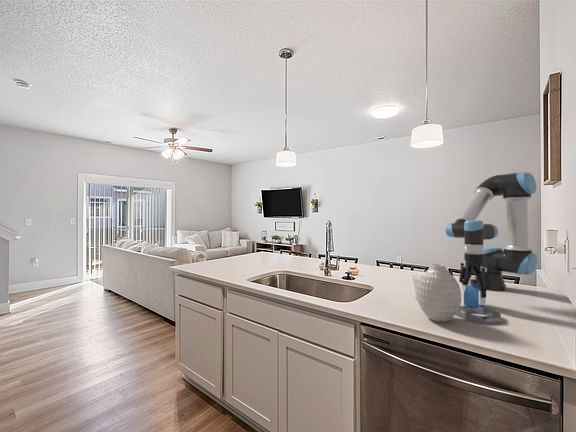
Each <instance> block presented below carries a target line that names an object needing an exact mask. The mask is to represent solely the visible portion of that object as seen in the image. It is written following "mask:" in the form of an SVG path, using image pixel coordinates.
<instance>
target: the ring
mask: <svg viewBox="0 0 576 432" xmlns="http://www.w3.org/2000/svg"><path fill="white" fill-rule="evenodd" d="M472 313H474V314H472ZM477 314H480V315H477ZM482 315H485V316H482ZM454 316H455V317H456V316H457V317H459V318H460V319H462V320H465V321H467V322H468V321H469V322H473V323H478V324H484V325H495V324H502V316H501V313H500V312H499V311H496V310H492V309H490V308H489V307H484V306H483V307H476V306H470V305H469V306H466V305H460V307H459V310H458V311H457V313H456V314H455V315H454Z"/></svg>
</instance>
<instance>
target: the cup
mask: <svg viewBox="0 0 576 432" xmlns="http://www.w3.org/2000/svg"><path fill="white" fill-rule="evenodd" d="M422 275H423V274H411V275H410V276H409V278H410V283H411V289H412V293H413V294H412V295H413V297H414V299H415V300H417V296H416V288H417V283H418V281H419V279H420V277H421V276H422Z"/></svg>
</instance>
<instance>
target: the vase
mask: <svg viewBox="0 0 576 432" xmlns="http://www.w3.org/2000/svg"><path fill="white" fill-rule="evenodd" d="M421 275H422V276H421V277H420V279H419V281H418V283H417V288H416V296H417V299H416V300H417V304H418V306H419V307H420V310H421V311H422V312H423V313H424V315H425V316H426V317H427V318H428V319H429V320H431V321H433V322H437V323H447V322H448V321H450V320H451V319H453V318H454V316H456V315H455V314H456V313H457V311H458V310H459V307H460V306H461V303H462V292H461V287H460V284H459V283H458V282H459V281H457V279H456V277H454V275H453V274H452V273H451V272H450V271H449V270H448V269H447V268H446V266H445V265H444V264H440V263H433V264H432V263H431V264H430V267H429V268H427V270H426V271H424V272H423V274H421Z"/></svg>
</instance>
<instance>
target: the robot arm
mask: <svg viewBox="0 0 576 432" xmlns="http://www.w3.org/2000/svg"><path fill="white" fill-rule="evenodd" d="M536 191H537V183H536V180H535V177H534V176H533V174H532V173H530V172H527V171H525V172H523V171H522V172H514V173H505V174H497V175H492V176H490V177H488V178H486V179H485V180H484V181H482V183H480V184H478V186H476V188H475V190H474V191H473V194H474V195H473V196H472V197H471V199H470V200H469V201H468V203H467V204H466V206H465V207H464V209H463V210H462V211H461V212H460V214H459V215H458V217H457V219H456V220H455V221H454V222H451V223H447V224H446V226H445V229H444V230H445V231H444V232H445V235H446V236H447V237H449V238H456V239H457V238H458V239H463V240H464V244H463V245H464V249H463V251H464V252H465V253H463V254H464V255H463V259H464V261H465V262H461V263H460V272H459V280H458V282H459V283H461V284H462V291H463V298H464V291H465V289H466V288H467V287H468V286H470V279H472V278H471V277H472V276H473V275H474V276H475V279H476V280H477V281H478V287H480V289H479V305H484V306H485V305H486V298H487V291H496V292H497V291H498V292H500V291H501V292H502V291H506V290H507V285H506V283H505V280H504V277H503V273H512V274H518V275H526V276H529V275H532V273H534V271H535V270H536V268H537V265H538V257H537V254H536V253H534V252H533V249H532V248H531V247H530V246H529V230H528V229H529V228H528V227H529V224H528V223H529V222H528V217H529V216H528V212H529V211H528V201H529V200H530V199H531V198H532V195H533V194H535V193H536ZM499 196H501V197H502V199H503V200H504V201H506V228H507V229H506V236H507V237H506V238H507V239H506V240H507V241H506V242H507V243H506V246H505V247H503V248H502V247H484V241H485V240H489V241H490V240H493V239H495V238H497V236H498V235H499V229H498V227H497V226H496V225H494V224H492V223H484V221H483V220H480V219H479V220H477V219H478V217H479V215H480V214H482V211H483V210H484V208H485V207H486V205H488V203H489V202H490V201H492V200H493V199H494V198H495V197H499Z"/></svg>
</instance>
